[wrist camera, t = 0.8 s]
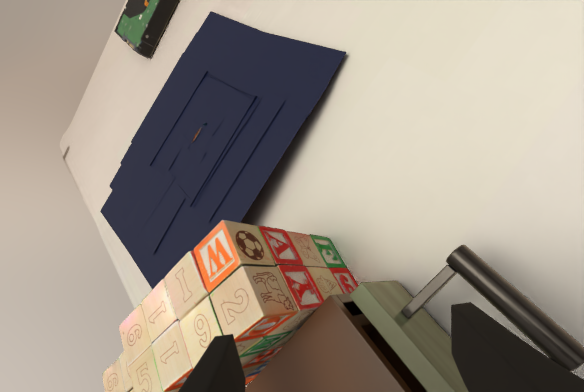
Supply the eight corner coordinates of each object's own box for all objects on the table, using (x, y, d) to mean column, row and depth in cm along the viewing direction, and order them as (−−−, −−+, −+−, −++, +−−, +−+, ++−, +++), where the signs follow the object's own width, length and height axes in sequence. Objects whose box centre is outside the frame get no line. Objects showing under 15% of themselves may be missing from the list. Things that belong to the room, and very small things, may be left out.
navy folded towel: (114, 209, 50) (89, 202, 48) (224, 24, 48) (204, 6, 45) (198, 326, 36) (169, 327, 33) (360, 70, 34) (344, 46, 31)
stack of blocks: (206, 414, 35) (71, 468, 25) (188, 352, 38) (62, 380, 28) (369, 300, 27) (262, 317, 17) (329, 234, 30) (219, 217, 20)
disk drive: (169, -44, 57) (128, 40, 60) (153, -57, 55) (112, 31, 58) (197, -32, 51) (150, 60, 54) (181, -46, 49) (133, 51, 52)
